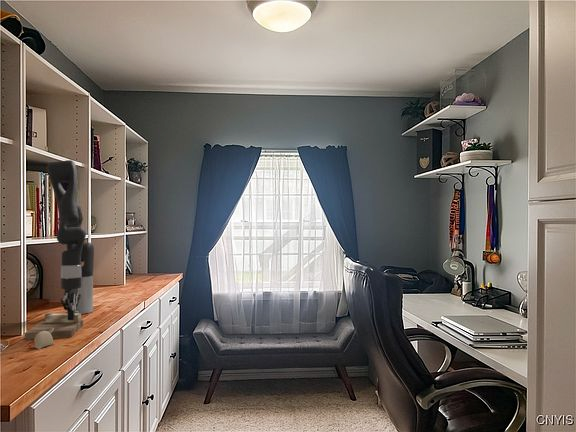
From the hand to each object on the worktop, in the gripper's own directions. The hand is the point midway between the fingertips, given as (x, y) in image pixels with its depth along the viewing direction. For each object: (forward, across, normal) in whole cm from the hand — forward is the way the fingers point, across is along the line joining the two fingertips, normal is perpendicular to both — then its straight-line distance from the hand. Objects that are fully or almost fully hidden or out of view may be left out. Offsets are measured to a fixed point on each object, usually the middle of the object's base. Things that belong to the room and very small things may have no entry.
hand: (71, 319), depth 180 cm
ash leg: (+1, -3, -5) cm, 6 cm away
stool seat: (+4, +2, -5) cm, 7 cm away
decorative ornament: (+5, +22, 0) cm, 22 cm away
